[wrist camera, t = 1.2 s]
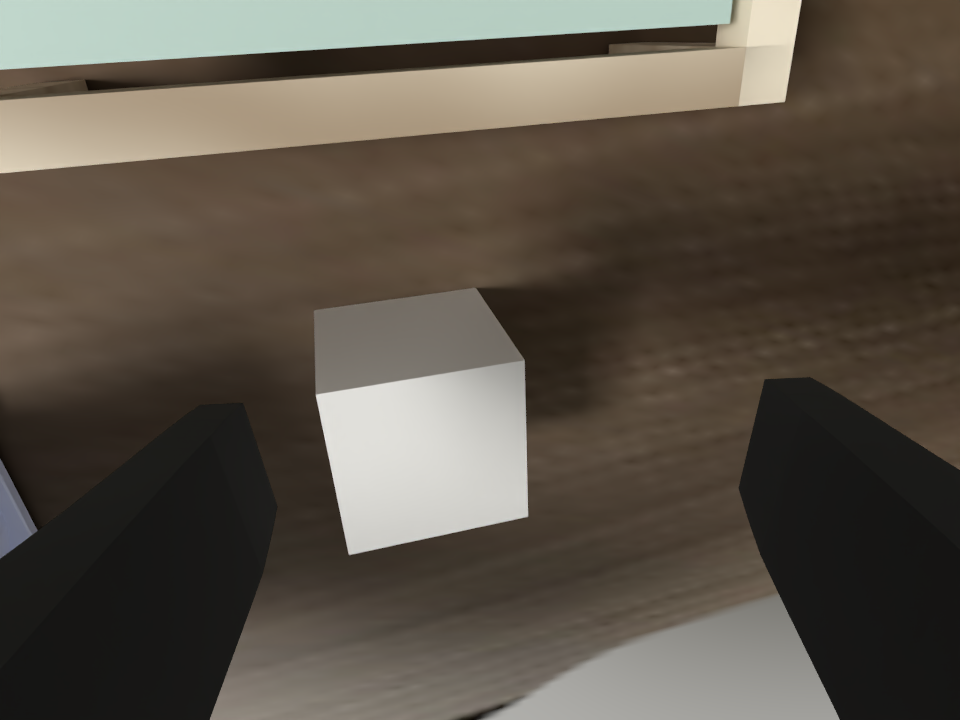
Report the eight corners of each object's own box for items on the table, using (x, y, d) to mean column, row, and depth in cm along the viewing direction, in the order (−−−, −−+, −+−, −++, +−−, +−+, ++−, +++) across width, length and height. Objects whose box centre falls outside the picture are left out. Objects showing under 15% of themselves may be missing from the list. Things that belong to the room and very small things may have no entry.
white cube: (483, 419, 21) (528, 516, 17) (340, 445, 20) (349, 555, 16) (475, 286, 19) (524, 360, 15) (313, 309, 18) (315, 394, 14)
